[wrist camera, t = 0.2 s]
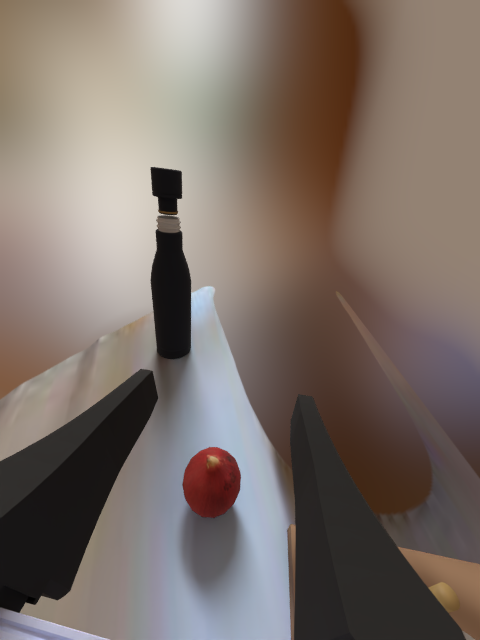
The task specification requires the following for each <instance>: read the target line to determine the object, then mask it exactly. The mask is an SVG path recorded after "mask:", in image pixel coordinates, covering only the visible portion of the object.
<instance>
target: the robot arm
mask: <svg viewBox="0 0 480 640" xmlns="http://www.w3.org/2000/svg"><path fill="white" fill-rule="evenodd" d="M157 399H158V395H157V390H156V386H155V381H154V376H153V371H150V370H144V369H140V370H139V371H138V372H136V373H135V374H134V375H132V376H131V377H130V378H129V379H127V380H126V381H125V382H124V383H122V384H121V385H120V386H118V387H117V388H116V389H115V390H113V391H112V392H111V393H109V394H108V395H107V396H105V397H104V398H103V399H101V400H100V401H99V402H97V403H96V404H95V405H93V406H92V407H90V408H89V409H88V410H86V411H85V412H83V413H82V414H81V415H79V416H78V417H76V418H75V419H73V420H72V421H70V422H69V423H67V424H66V425H64V426H62V427H61V428H59V429H58V430H56V431H54V432H53V433H51V434H49V435H48V436H46V437H44V438H43V439H41V440H39V441H37V442H35V443H34V444H32V445H30V446H28V447H26V448H25V449H23V450H21V451H19V452H17V453H16V454H14V455H12V456H10V457H8V458H6V459H4V460H2V461H0V640H109V639H106V638H102V637H99V636H95V635H92V634H89V633H85V632H82V631H78V630H75V629H72V628H68V627H65V626H61V625H58V624H55V623H51V622H48V621H45V620H41V619H38V618H34V617H31V616H28V615H24V614H21V613H19V612H20V611H21V609H22V607H23V606H24V604H25V602H26V603H30V604H33V605H35V604H36V603H37V602H38V600H39V598H40V597H41V596H44V597H48V598H52V599H55V600H59V599H61V598H62V597H63V596H65V595H66V594H67V593H68V592H69V591H70V590H71V587H72V584H73V582H74V579H75V576H76V574H77V571H78V568H79V566H80V563H81V561H82V558H83V555H84V553H85V550H86V548H87V545H88V543H89V540H90V538H91V535H92V533H93V530H94V528H95V526H96V523H97V521H98V518H99V516H100V514H101V511H102V509H103V507H104V505H105V502H106V500H107V498H108V495H109V493H110V491H111V489H112V487H113V485H114V482H115V480H116V478H117V476H118V474H119V472H120V470H121V468H122V466H123V464H124V462H125V461H126V459H127V457H128V455H129V454H130V452H131V450H132V448H133V447H134V445H135V443H136V441H137V440H138V438H139V436H140V434H141V433H142V431H143V429H144V427H145V425H146V424H147V422H148V420H149V418H150V416H151V414H152V411H153V409H154V407H155V404H156V402H157ZM290 436H291V437H290V445H291V458H292V470H293V482H294V494H295V525H296V545H295V614H294V640H466V638H465V636H464V634H463V632H462V629H461V628H460V627H459V625H458V624H457V623H456V622H455V620H454V619H453V618H452V617H451V615H450V614H449V613H448V612H447V611H446V609H445V608H444V607H443V606H442V604H441V603H440V602H439V601H438V599H437V598H436V597H435V596H434V594H433V593H432V592H431V591H430V589H429V588H428V587H427V585H426V584H425V583H424V582H423V580H422V579H421V578H420V576H419V575H418V574H417V572H416V571H415V570H414V569H413V567H412V566H411V565H410V563H409V562H408V561H407V559H406V558H405V557H404V555H403V554H402V553H401V551H400V550H399V548H398V547H397V546H396V544H395V543H394V541H393V540H392V539H391V537H390V536H389V534H388V533H387V531H386V530H385V529H384V527H383V526H382V524H381V523H380V522H379V520H378V519H377V517H376V516H375V514H374V513H373V511H372V510H371V508H370V507H369V505H368V504H367V502H366V501H365V499H364V497H363V496H362V494H361V493H360V491H359V490H358V488H357V486H356V484H355V483H354V481H353V479H352V478H351V476H350V474H349V473H348V471H347V469H346V467H345V465H344V464H343V462H342V460H341V458H340V456H339V454H338V453H337V450H336V449H335V447H334V444H333V442H332V440H331V438H330V436H329V434H328V432H327V430H326V428H325V426H324V423H323V421H322V419H321V417H320V414H319V412H318V409H317V407H316V404H315V402H314V399H313V397H312V396H306V395H298V397H297V401H296V404H295V408H294V411H293V415H292V419H291V434H290Z"/></svg>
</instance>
